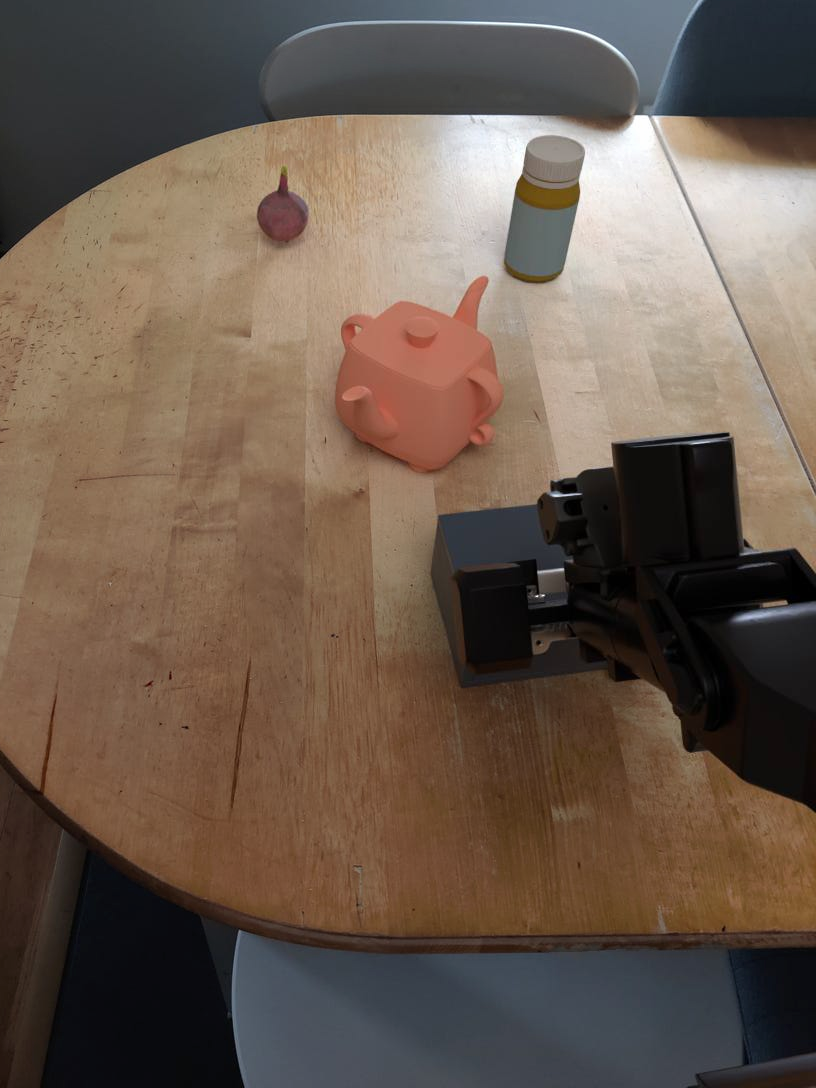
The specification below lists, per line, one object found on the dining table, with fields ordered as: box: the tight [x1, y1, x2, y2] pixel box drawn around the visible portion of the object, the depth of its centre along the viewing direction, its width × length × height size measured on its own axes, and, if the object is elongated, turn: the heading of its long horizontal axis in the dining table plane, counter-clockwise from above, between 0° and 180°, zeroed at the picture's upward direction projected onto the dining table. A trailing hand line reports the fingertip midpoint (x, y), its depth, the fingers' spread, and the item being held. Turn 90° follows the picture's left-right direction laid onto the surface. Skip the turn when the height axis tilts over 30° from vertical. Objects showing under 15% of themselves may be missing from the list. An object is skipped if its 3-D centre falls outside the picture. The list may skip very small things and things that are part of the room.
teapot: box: [334, 275, 505, 473], centre depth 81 cm, size 15×17×13 cm
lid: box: [436, 503, 573, 629], centre depth 64 cm, size 11×14×5 cm
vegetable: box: [256, 165, 310, 244], centre depth 104 cm, size 6×6×10 cm
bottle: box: [503, 134, 586, 284], centre depth 99 cm, size 7×7×15 cm
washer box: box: [430, 522, 608, 689], centre depth 68 cm, size 11×14×7 cm
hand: (558, 582), depth 62 cm, fingers closed on lid, 6 cm apart
